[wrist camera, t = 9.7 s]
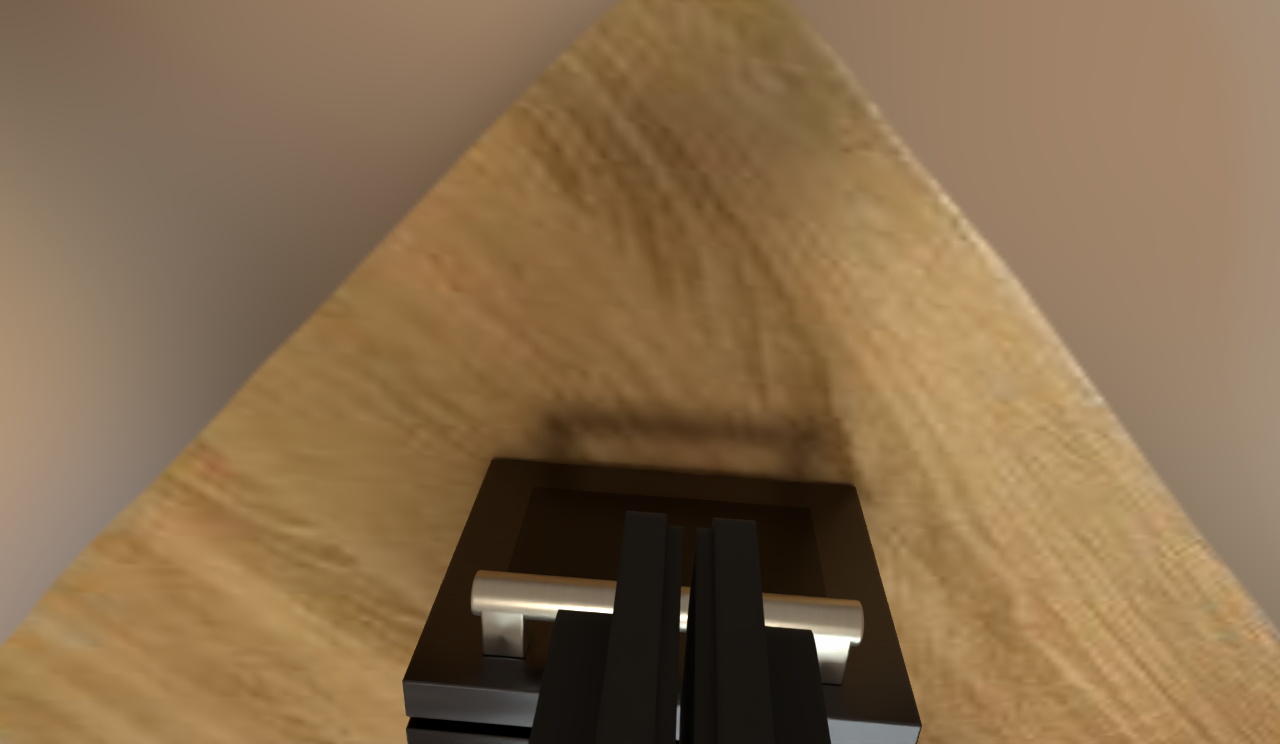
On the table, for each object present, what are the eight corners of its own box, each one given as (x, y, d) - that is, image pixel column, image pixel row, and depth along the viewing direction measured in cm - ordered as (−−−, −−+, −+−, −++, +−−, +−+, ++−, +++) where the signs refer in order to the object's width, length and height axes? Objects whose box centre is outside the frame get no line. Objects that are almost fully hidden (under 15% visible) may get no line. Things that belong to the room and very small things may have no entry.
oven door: (489, 405, 36) (393, 615, 25) (866, 432, 36) (941, 660, 25) (492, 488, 38) (405, 717, 27) (850, 515, 38) (913, 761, 27)
